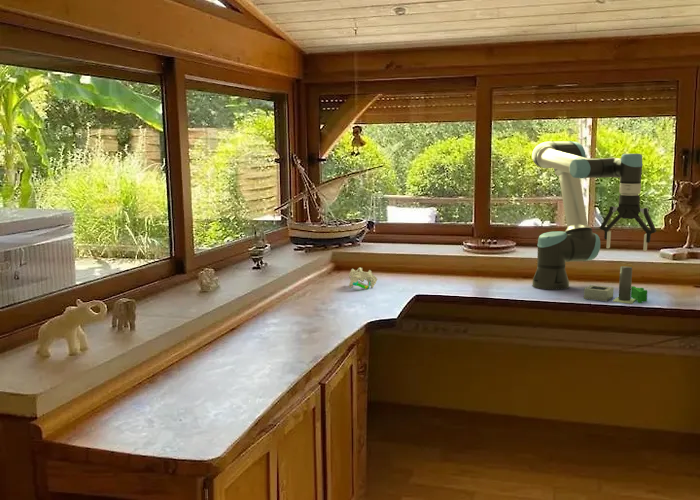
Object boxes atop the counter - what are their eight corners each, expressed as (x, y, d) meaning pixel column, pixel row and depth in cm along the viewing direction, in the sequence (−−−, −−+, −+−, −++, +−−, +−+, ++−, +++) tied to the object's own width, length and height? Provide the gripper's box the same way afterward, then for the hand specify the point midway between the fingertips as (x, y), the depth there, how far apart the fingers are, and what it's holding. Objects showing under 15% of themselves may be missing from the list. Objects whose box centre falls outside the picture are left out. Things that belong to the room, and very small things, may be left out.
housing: (583, 298, 280) (584, 288, 280) (590, 294, 288) (590, 285, 287) (607, 301, 275) (607, 291, 275) (612, 297, 283) (613, 287, 282)
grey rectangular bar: (617, 299, 275) (618, 267, 273) (619, 297, 278) (621, 265, 276) (628, 301, 272) (630, 268, 270) (631, 299, 276) (633, 266, 274)
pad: (612, 301, 275) (612, 300, 274) (617, 298, 280) (617, 296, 280) (631, 303, 271) (631, 302, 271) (635, 300, 276) (635, 298, 276)
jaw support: (339, 282, 301) (346, 265, 306) (345, 294, 307) (352, 277, 312) (364, 285, 295) (371, 267, 301) (370, 297, 302) (377, 279, 307)
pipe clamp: (649, 303, 272) (649, 292, 271) (638, 303, 272) (639, 292, 271) (640, 297, 283) (641, 286, 282) (630, 297, 283) (631, 285, 282)
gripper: (593, 193, 273) (590, 247, 277) (662, 196, 259) (659, 253, 263) (598, 192, 279) (596, 245, 283) (666, 195, 265) (663, 250, 269)
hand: (626, 249), depth 273 cm, fingers open, 13 cm apart
